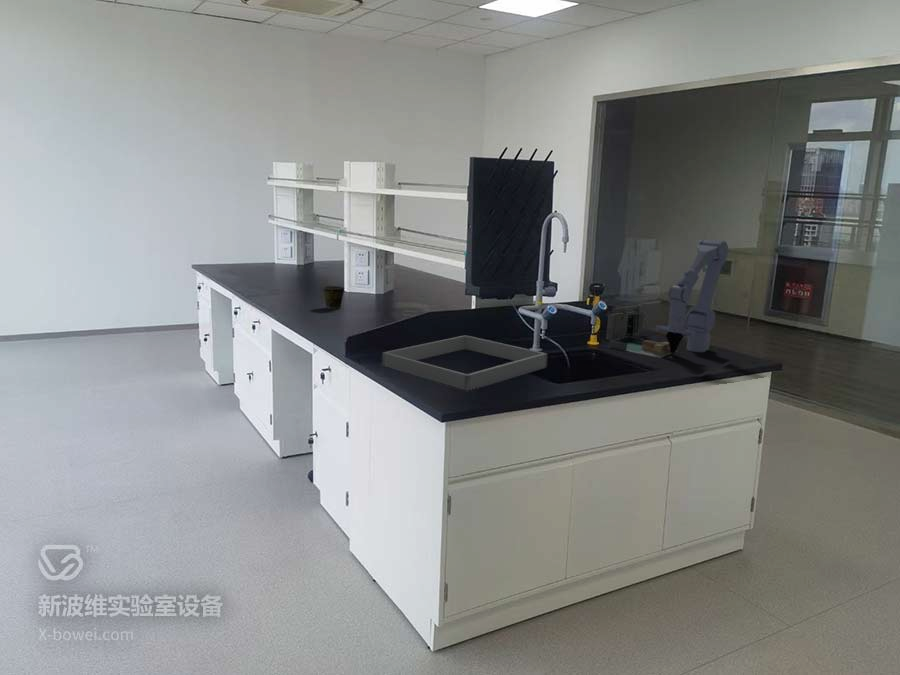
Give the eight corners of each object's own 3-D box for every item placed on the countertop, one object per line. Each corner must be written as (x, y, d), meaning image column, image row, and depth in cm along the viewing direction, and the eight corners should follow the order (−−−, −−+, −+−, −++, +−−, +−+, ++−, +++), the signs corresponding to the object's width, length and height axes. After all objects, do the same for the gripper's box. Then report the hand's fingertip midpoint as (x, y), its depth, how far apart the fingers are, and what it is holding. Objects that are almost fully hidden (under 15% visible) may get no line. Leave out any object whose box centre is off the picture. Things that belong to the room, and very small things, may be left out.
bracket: (626, 341, 287) (627, 335, 286) (643, 344, 282) (643, 338, 282) (608, 346, 275) (608, 341, 275) (625, 350, 271) (625, 344, 270)
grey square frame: (464, 347, 268) (465, 335, 267) (546, 367, 245) (547, 353, 244) (381, 367, 236) (382, 352, 235) (466, 391, 213) (467, 375, 211)
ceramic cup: (325, 305, 343) (325, 285, 341) (345, 306, 343) (345, 286, 341) (320, 310, 331) (320, 289, 329) (341, 311, 331) (341, 290, 329)
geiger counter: (616, 308, 287) (654, 304, 302) (604, 305, 292) (643, 301, 307) (612, 341, 290) (651, 335, 305) (601, 338, 295) (639, 332, 310)
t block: (648, 347, 277) (649, 338, 277) (670, 351, 272) (671, 343, 271) (638, 350, 271) (639, 342, 270) (660, 355, 265) (661, 346, 264)
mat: (626, 343, 288) (626, 341, 287) (677, 353, 273) (678, 351, 273) (607, 349, 276) (607, 346, 275) (659, 360, 262) (660, 357, 261)
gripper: (654, 315, 265) (650, 350, 268) (691, 321, 256) (687, 357, 259) (662, 313, 270) (658, 347, 273) (699, 319, 261) (694, 354, 264)
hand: (673, 352), depth 266 cm, fingers closed
